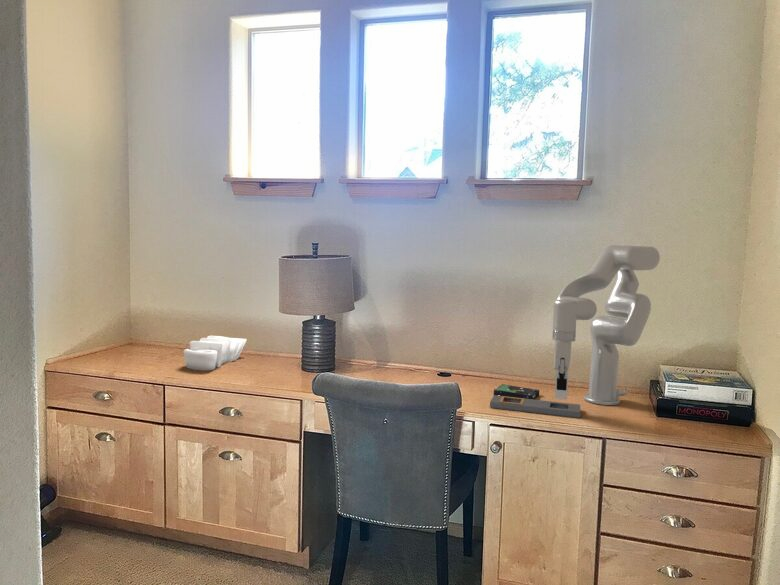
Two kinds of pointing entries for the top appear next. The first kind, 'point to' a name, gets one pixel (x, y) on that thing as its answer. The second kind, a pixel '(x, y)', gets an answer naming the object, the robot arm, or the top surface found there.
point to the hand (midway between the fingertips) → (561, 387)
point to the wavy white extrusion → (212, 352)
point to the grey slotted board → (536, 406)
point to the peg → (561, 393)
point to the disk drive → (516, 392)
